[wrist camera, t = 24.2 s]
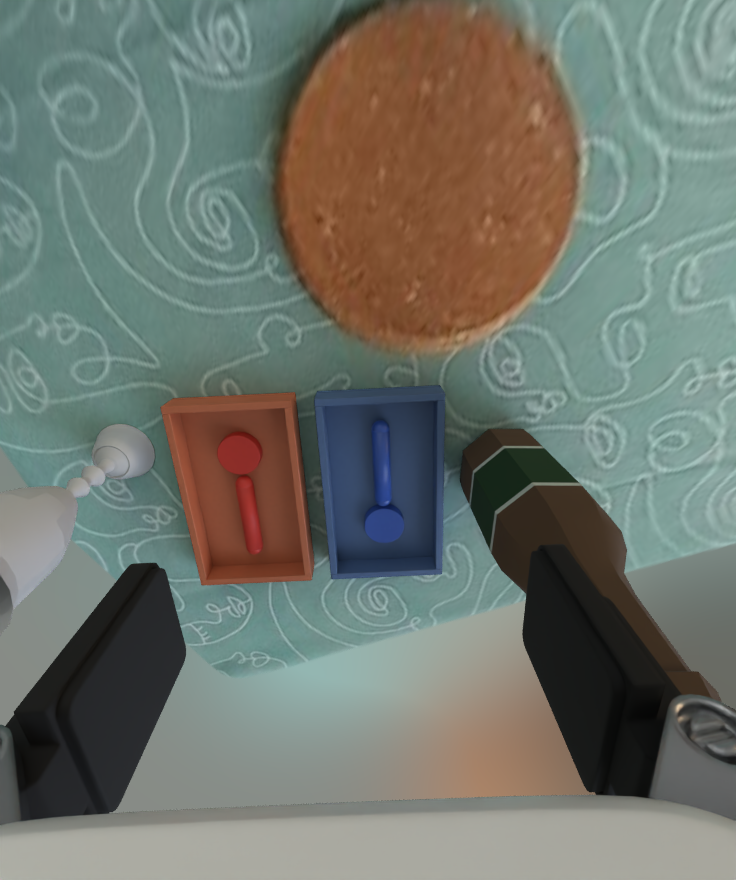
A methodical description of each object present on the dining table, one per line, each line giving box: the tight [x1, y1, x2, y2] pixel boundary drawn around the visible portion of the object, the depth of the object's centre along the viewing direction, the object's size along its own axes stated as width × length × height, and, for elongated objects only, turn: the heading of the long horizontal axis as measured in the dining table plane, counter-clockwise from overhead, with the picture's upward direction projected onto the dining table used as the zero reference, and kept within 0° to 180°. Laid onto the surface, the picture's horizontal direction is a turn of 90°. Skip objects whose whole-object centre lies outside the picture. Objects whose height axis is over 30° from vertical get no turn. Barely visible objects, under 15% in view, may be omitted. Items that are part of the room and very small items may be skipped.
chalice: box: [0, 424, 155, 636], centre depth 30 cm, size 7×7×18 cm
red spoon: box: [217, 432, 263, 554], centre depth 38 cm, size 12×4×2 cm, turn 3°
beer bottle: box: [460, 429, 722, 702], centre depth 28 cm, size 8×8×24 cm
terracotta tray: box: [161, 392, 314, 585], centre depth 38 cm, size 17×10×2 cm, turn 3°
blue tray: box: [314, 385, 445, 579], centre depth 38 cm, size 17×10×2 cm, turn 3°
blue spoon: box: [364, 420, 404, 543], centre depth 38 cm, size 12×4×2 cm, turn 3°
